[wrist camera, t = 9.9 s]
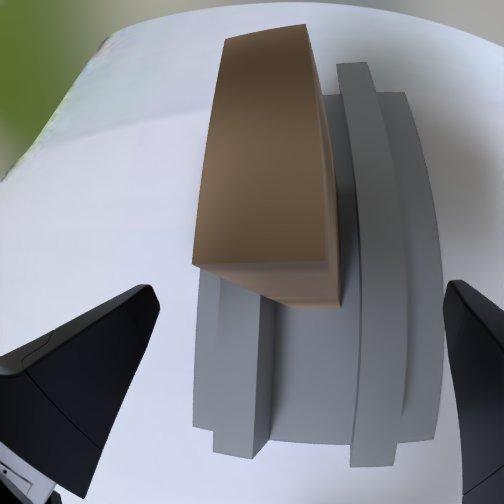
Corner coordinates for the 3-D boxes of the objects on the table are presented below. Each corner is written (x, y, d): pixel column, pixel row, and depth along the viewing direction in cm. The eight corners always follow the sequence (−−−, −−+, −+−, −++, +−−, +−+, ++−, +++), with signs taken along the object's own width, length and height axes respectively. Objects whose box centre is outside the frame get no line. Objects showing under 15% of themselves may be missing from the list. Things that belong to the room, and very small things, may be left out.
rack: (429, 434, 12) (448, 459, 9) (200, 422, 17) (165, 439, 13) (403, 101, 18) (407, 62, 14) (223, 119, 22) (201, 86, 18)
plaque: (341, 308, 15) (325, 260, 5) (293, 308, 16) (192, 263, 6) (337, 186, 17) (305, 24, 7) (295, 188, 18) (224, 39, 7)
